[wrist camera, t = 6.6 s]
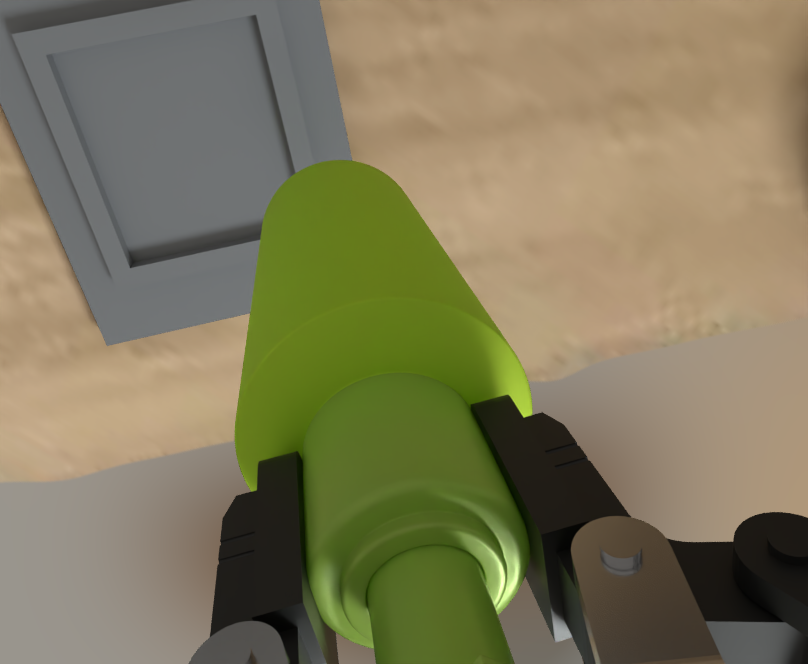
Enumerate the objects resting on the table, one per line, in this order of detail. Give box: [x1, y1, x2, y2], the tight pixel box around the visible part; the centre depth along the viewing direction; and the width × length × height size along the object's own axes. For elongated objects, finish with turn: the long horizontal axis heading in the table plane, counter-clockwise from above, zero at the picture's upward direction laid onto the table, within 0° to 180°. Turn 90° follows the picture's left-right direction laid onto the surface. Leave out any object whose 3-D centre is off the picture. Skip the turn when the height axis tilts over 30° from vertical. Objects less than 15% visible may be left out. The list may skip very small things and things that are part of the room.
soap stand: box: [0, 0, 352, 346], centre depth 37 cm, size 22×18×2 cm
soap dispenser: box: [235, 160, 532, 664], centre depth 15 cm, size 6×7×20 cm
